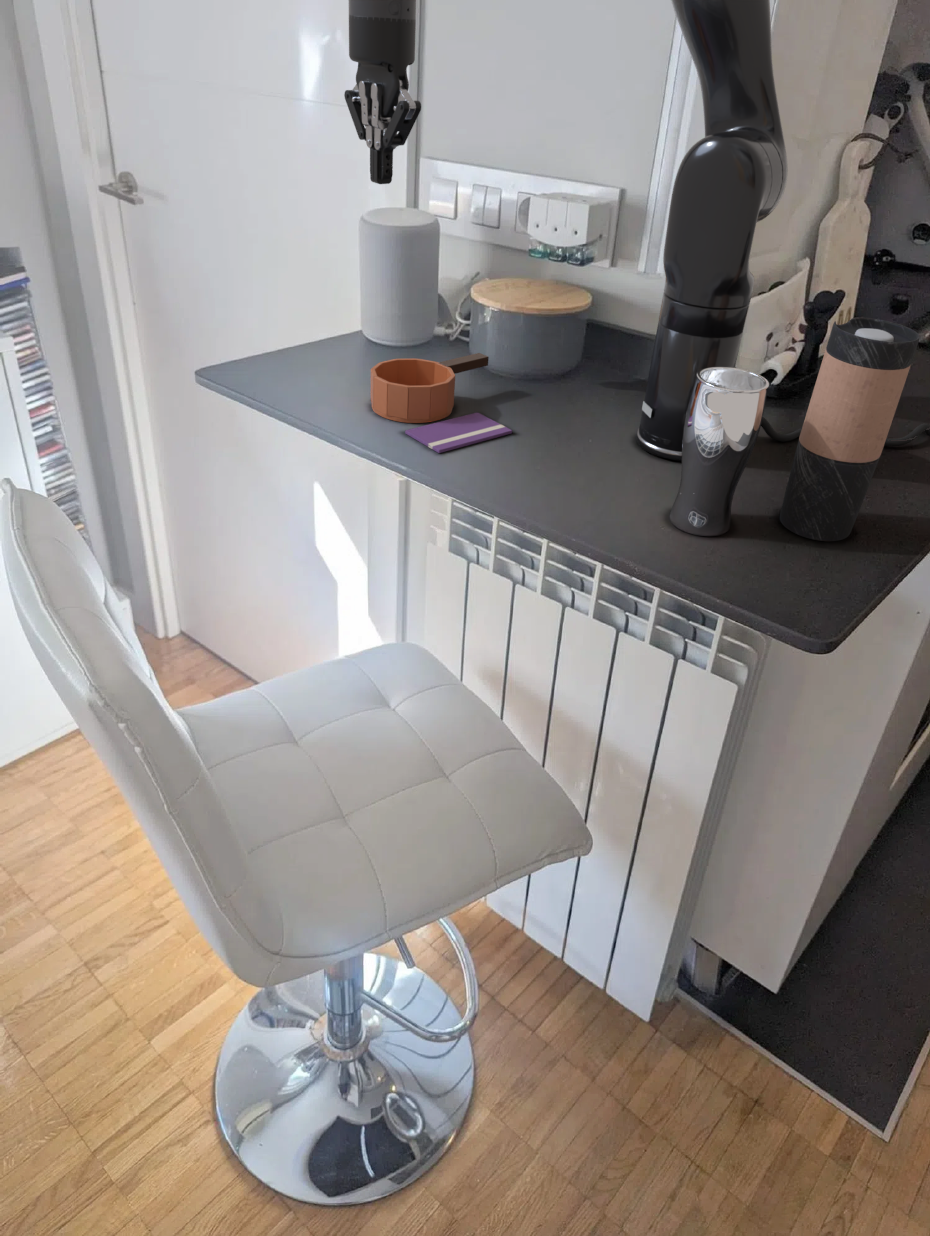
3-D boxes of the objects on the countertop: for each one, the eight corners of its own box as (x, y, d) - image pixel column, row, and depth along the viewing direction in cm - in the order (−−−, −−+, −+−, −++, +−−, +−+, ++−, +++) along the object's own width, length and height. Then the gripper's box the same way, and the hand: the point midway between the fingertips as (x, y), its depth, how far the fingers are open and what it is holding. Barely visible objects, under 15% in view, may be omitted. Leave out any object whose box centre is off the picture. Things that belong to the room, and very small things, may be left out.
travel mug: (858, 548, 90) (930, 347, 78) (779, 536, 91) (838, 336, 79) (847, 513, 96) (912, 322, 84) (773, 502, 97) (827, 312, 86)
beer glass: (682, 499, 96) (712, 360, 88) (744, 521, 93) (782, 378, 84) (652, 523, 91) (682, 377, 83) (717, 546, 88) (755, 398, 80)
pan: (456, 377, 123) (458, 343, 120) (507, 400, 117) (511, 365, 114) (355, 402, 113) (355, 366, 110) (405, 429, 107) (406, 391, 104)
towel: (477, 415, 112) (477, 412, 112) (512, 433, 108) (512, 430, 108) (405, 433, 106) (405, 430, 106) (439, 453, 102) (439, 450, 102)
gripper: (445, 18, 100) (438, 190, 109) (376, 11, 108) (375, 172, 118) (388, 15, 96) (386, 194, 105) (322, 8, 104) (326, 175, 113)
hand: (380, 182), depth 111 cm, fingers closed
